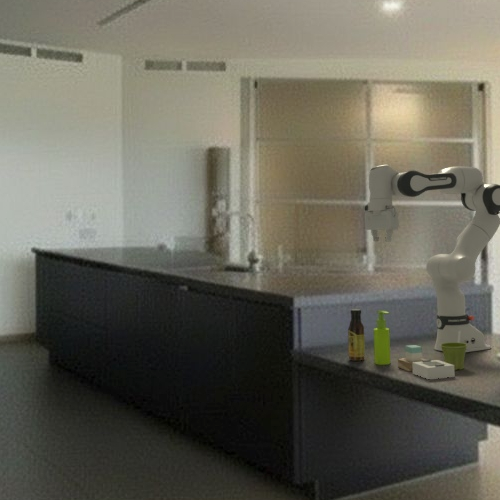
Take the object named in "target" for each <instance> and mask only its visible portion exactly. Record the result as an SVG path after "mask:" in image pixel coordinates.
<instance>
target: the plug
mask: <svg viewBox="0 0 500 500" xmlns="http://www.w3.org/2000/svg"><path fill="white" fill-rule="evenodd" d="M404 349H405V350H404V352H405V358H406V360H407V361H410V362H417V361H422V358H423V348H422V346H419V345H416V344H412V345H405V348H404Z"/></svg>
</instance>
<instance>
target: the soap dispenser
mask: <svg viewBox="0 0 500 500" xmlns="http://www.w3.org/2000/svg"><path fill="white" fill-rule="evenodd" d="M376 313H378V318H377V319H376V328H373V349H374V352H373V353H374V356H373V357H374V364H375V365H379V366H385V365H390V364H391V337H390V328H388V327H387V322H386V321H387V320H386V318H384V315H389V314H390V312H389V311H388V310H377V311H376Z"/></svg>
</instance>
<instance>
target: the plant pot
mask: <svg viewBox="0 0 500 500" xmlns="http://www.w3.org/2000/svg"><path fill="white" fill-rule="evenodd" d="M440 346H441V347H442V350H443V351H442V355H443V362H446V363H449V364H452V365H454V371H456V370H463V369H464V365H465V357H466V356H465V355H466V352H465V350H466V347H467V344H465V343H443V344H440Z"/></svg>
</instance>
